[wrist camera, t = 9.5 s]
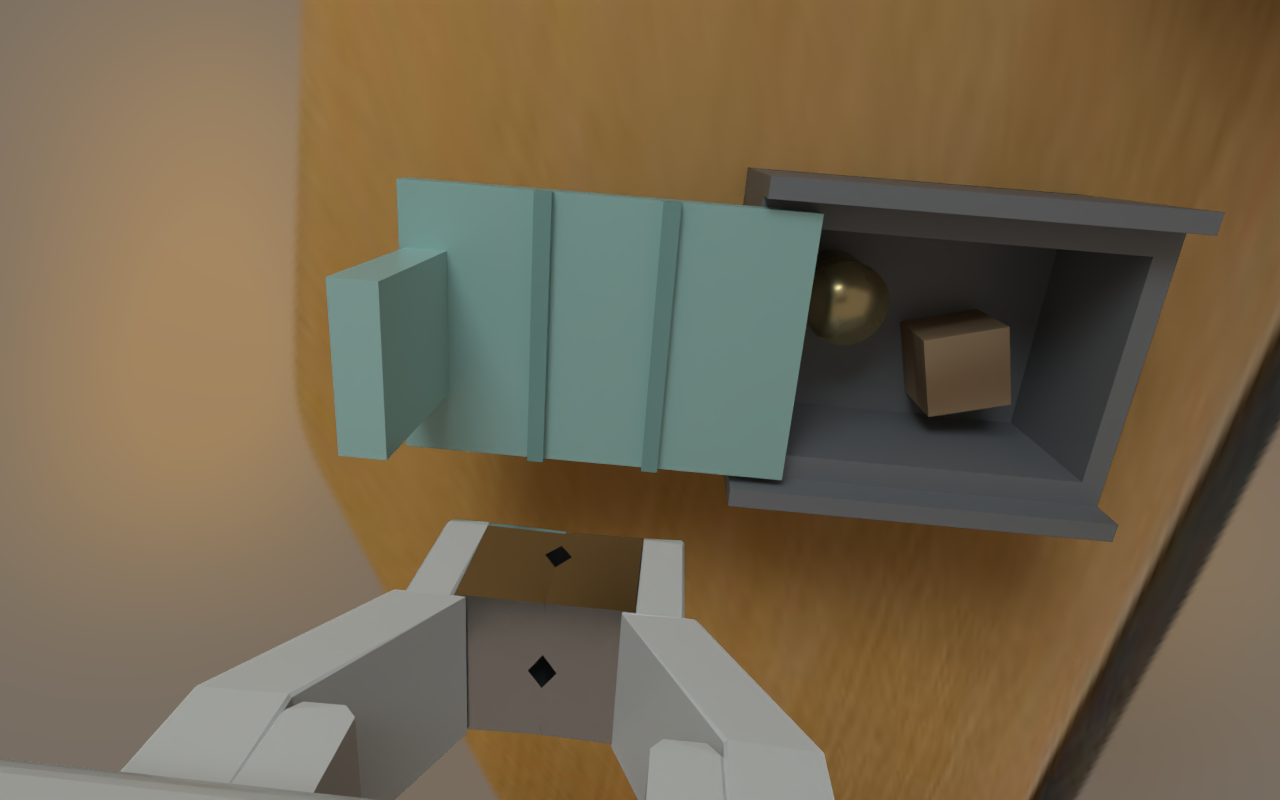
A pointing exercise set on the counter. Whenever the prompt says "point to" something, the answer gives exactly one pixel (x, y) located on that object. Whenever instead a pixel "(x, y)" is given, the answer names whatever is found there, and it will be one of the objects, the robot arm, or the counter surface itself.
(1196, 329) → the counter surface
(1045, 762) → the counter surface
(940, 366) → the wood part
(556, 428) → the lid
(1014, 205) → the grey box
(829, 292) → the brass part
